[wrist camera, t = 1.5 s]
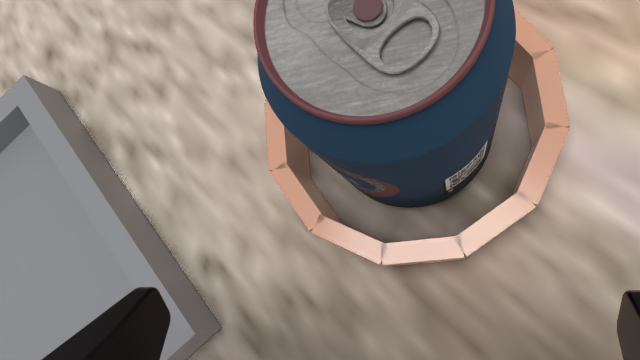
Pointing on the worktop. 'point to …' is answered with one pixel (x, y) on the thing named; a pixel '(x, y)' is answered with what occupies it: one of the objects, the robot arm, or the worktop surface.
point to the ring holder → (546, 140)
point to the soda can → (389, 87)
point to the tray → (75, 235)
